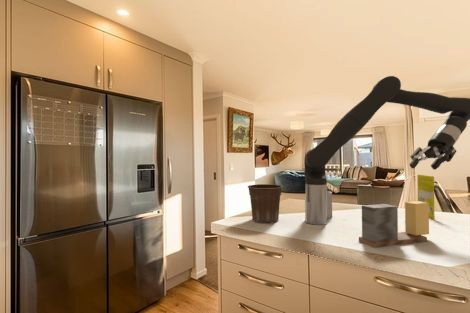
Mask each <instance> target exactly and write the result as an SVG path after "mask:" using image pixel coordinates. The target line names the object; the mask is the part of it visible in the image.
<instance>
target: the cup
mask: <svg viewBox="0 0 470 313" xmlns="http://www.w3.org/2000/svg"><path fill="white" fill-rule="evenodd" d="M330 218H333V192H332V191H330V190H327V219H330Z"/></svg>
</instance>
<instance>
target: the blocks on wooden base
mask: <svg viewBox="0 0 470 313" xmlns="http://www.w3.org/2000/svg"><path fill="white" fill-rule="evenodd" d="M398 208H399V207H398V206H397V205H393V204H392V205H391V204H387V203H380V204H379V203H378V204H366V205H364V204H363V205H361V236H358V242H359V243H362V244H365V245H367V246H369V247H371V248H374V249H379V248H386V247H393V246H401V245H410V244H417V243H425V242H428V236H425V235H417V236H415V235H412V234H409V233H405V231H401V232H400V231H399V224H398V223H399V222H398V219H399V218H398V214H399V212H398Z"/></svg>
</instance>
